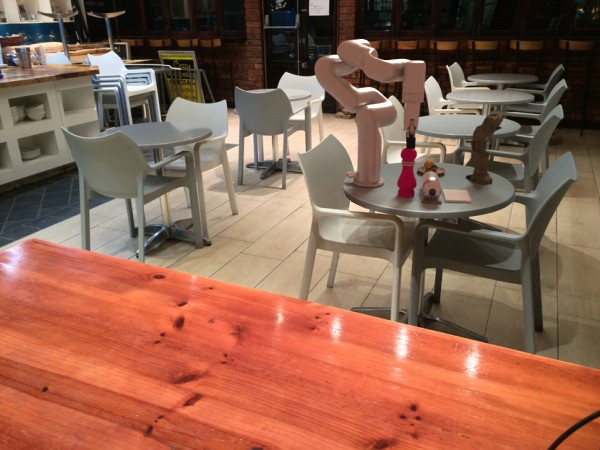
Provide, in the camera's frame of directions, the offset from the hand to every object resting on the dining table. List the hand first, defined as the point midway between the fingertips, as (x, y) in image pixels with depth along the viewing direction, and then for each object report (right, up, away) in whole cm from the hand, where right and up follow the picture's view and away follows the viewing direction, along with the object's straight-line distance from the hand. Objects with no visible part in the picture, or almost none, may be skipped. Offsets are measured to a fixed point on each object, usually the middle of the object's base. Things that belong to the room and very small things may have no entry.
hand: (410, 145), depth 180 cm
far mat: (+18, -19, +5) cm, 27 cm away
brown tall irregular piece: (+33, -11, +22) cm, 41 cm away
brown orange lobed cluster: (+16, -7, +33) cm, 38 cm away
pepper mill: (0, -18, +8) cm, 20 cm away
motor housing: (+9, -18, +6) cm, 21 cm away
